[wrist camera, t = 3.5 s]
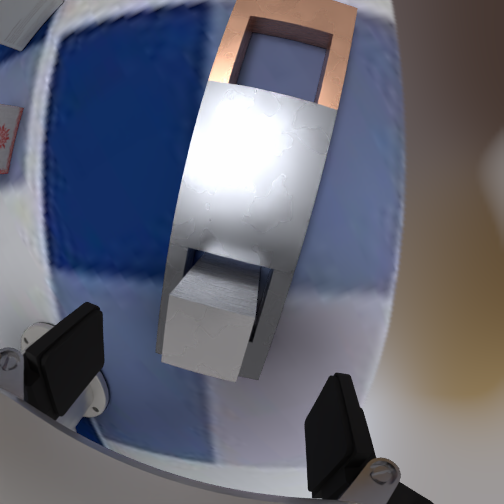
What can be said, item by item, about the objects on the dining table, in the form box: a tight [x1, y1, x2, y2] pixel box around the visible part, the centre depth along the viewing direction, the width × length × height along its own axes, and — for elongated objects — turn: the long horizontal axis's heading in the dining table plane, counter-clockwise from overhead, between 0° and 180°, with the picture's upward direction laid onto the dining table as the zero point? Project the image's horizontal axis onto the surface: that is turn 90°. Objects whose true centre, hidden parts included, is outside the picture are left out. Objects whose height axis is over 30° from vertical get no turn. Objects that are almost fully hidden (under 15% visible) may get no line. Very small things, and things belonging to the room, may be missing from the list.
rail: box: [156, 0, 357, 380], centre depth 17 cm, size 28×8×2 cm, turn 166°
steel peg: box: [161, 252, 260, 382], centre depth 17 cm, size 4×4×8 cm
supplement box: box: [0, 0, 63, 51], centre depth 9 cm, size 7×7×13 cm
